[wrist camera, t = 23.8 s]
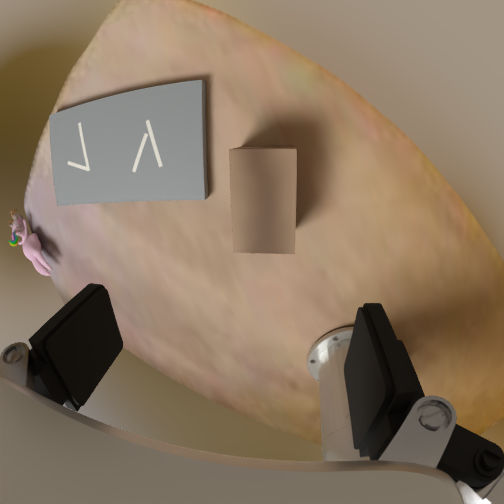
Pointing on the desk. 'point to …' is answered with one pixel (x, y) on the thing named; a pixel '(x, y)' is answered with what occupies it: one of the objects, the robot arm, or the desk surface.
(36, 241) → the pink plastic figure
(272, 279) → the desk surface
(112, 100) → the slate board
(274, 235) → the block
